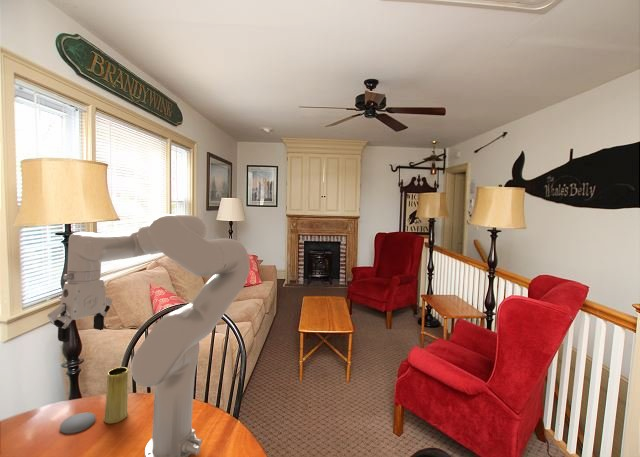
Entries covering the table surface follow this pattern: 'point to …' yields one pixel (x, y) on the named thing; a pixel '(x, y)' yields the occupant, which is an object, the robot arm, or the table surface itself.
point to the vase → (116, 395)
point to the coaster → (77, 423)
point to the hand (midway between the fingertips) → (81, 334)
